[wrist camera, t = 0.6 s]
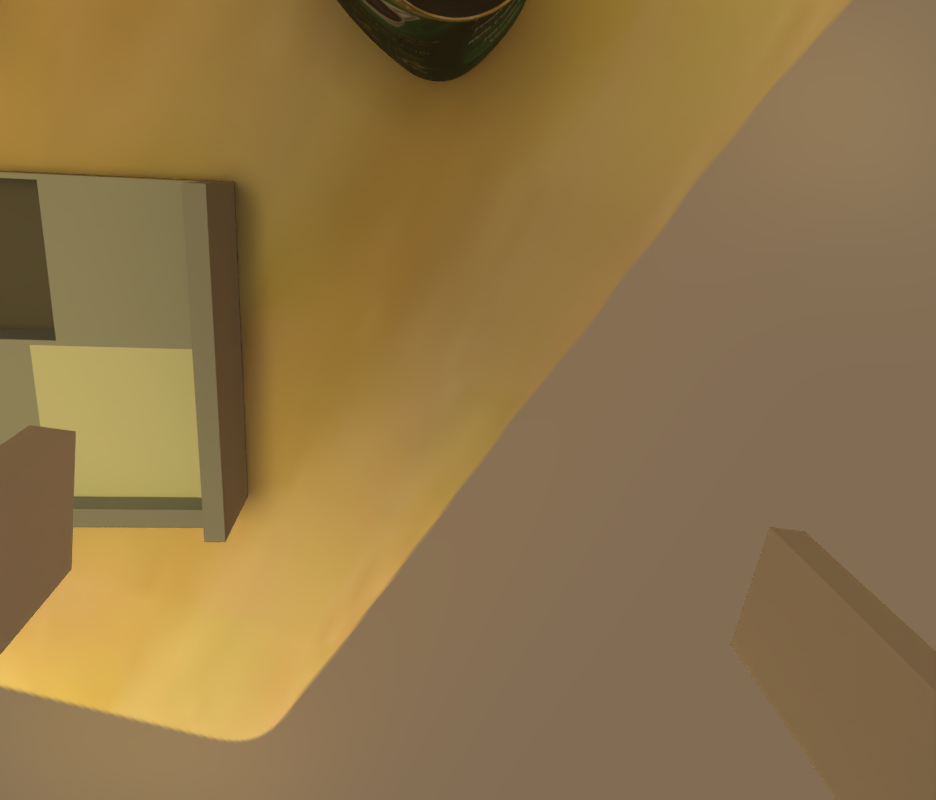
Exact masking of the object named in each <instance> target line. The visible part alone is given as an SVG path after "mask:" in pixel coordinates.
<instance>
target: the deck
mask: <svg viewBox="0 0 936 800" xmlns="http://www.w3.org/2000/svg"><path fill="white" fill-rule="evenodd" d="M29 425H33V426H40V427H48V428H55V429H62V430H70V431H76V445H75V475H74V506H73V527H129V528H204V542H226V540H227V538H228V536H229V533H230V531H231V529H232V527H233V525H234V523H235V521H236V519H237V517H238V515H239V513H240V511H241V509H242V507H243V505H244V503H245V501H246V498H247V496H248V483H247V461H246V438H245V416H244V393H243V371H242V348H241V326H240V303H239V280H238V258H237V235H236V213H235V190H234V182H229V181H208V180H186V179H165V178H144V177H122V176H101V175H80V174H58V173H37V172H16V171H0V445H1V444H3V443H4V442H6V441H7V440H9V439H10V438H12V437H13V436H15V435H16V434H17V433H19V432H20V431H22V430H23V429H25V428H26V427H28V426H29Z"/></svg>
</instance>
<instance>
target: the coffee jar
mask: <svg viewBox="0 0 936 800" xmlns="http://www.w3.org/2000/svg"><path fill="white" fill-rule="evenodd" d="M337 1H338V2H339V3H340V5H341V6H342V7H343V8H344V10H345V11H346V12H347V13H348V15H349V16H350V17H351V18H352V19H353V20H354V21H355V22H356V23H357V25H358V26H359V27H360V28H361V29H362V30H363V31H364V32H365V33H366V34H367V35H368V36H369V37H370V38H371V39H372V40H373V41H374V42H375V43H376V44H377V45H378V46H379V47H380V48H381V49H382V50H383V51H385V52H386V53H387V54H388V55H389V56H390V57H391V58H393V59H394V60H395V61H396V62H398V63H399V64H400V65H401V66H403V67H404V68H405V69H407V70H408V71H410V72H411V73H412V74H414V75H416V76H418V77H421V78H424V79H427V80H432V81H446V80H451V79H454V78H457V77H459V76H461V75H463V74H465V73H466V72H468V71H469V70H471V69H472V68H473V67H475V66H476V65H477V64H478V63H479V62H480V61H481V60H482V59H483V58H484V57H485V56H486V55H487V54H488V53H489V52H490V51H491V50H492V49H493V48H494V47H495V46H496V45H497V44H498V43H499V41H500V40H501V39H502V38H503V37H504V36H505V34H506V33H507V32H508V30H509V29H510V28H511V26H512V25H513V23H514V22H515V20H516V18H517V17H518V15H519V13H520V11H521V10H522V8H523V5H524V3H525V1H526V0H337Z"/></svg>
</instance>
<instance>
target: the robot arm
mask: <svg viewBox="0 0 936 800" xmlns="http://www.w3.org/2000/svg"><path fill="white" fill-rule="evenodd" d="M75 445H76V431H70V430H62V429H55V428H48V427H40V426H33V425H29V426H28V427H26V428H25V429H23V430H22V431H20V432H19V433H17V434H16V435H15V436H13V437H12V438H10V439H9V440H7V441H6V442H4V443H3V444H1V445H0V654H1V653H2V652H3V651H4V650H5V648H6V647H7V646H8V645H9V644H10V642H11V641H12V640H13V639H14V638H15V636H16V635H17V634H18V633H19V632H20V630H21V629H22V628H23V627H24V626H25V624H26V623H27V622H28V621H29V620H30V618H31V617H32V616H33V615H34V614H35V612H36V611H37V610H38V609H39V608H40V606H41V605H42V604H43V603H44V601H45V600H46V599H47V598H48V597H49V595H50V594H51V593H52V592H53V591H54V589H55V588H56V587H57V586H58V585H59V583H60V582H61V581H62V580H63V579H64V577H65V576H66V575H67V574H68V573H69V571H70V570H71V566H72V536H73V506H74V475H75ZM731 646H732V648H733V649H734V651H735V652H736V653H737V655H738V656H739V658H740V659H741V661H742V662H743V664H744V665H745V667H746V668H747V670H748V671H749V673H750V674H751V676H752V677H753V678H754V680H755V682H756V683H757V684H758V686H759V687H760V689H761V690H762V692H763V693H764V695H765V696H766V698H767V699H768V701H769V702H770V704H771V705H772V706H773V708H774V709H775V711H776V712H777V714H778V715H779V717H780V718H781V720H782V721H783V723H784V724H785V726H786V727H787V729H788V730H789V732H790V733H791V735H792V736H793V738H794V739H795V741H796V742H797V744H798V745H799V746H800V748H801V749H802V751H803V752H804V754H805V755H806V757H807V758H808V760H809V761H810V763H811V764H812V766H813V767H814V769H815V770H816V772H817V773H818V775H819V776H820V778H821V779H822V780H823V782H824V783H825V785H826V786H827V788H828V789H829V791H830V792H831V794H832V795H833V797H834V798H835V800H936V651H935V650H934V649H933V648H931V647H930V646H929V645H928V644H927V643H926V642H925V641H924V640H923V639H922V638H921V637H920V636H918V635H917V634H916V633H915V632H914V631H913V630H912V629H911V628H910V627H909V626H908V625H906V624H905V623H904V622H903V621H902V620H901V619H900V618H898V616H896V614H894V613H893V612H892V611H891V610H890V609H889V608H888V607H887V606H886V605H885V604H883V603H882V602H881V601H880V600H879V599H878V598H877V597H876V596H875V595H874V594H873V593H872V592H870V591H869V590H868V589H867V588H866V587H865V586H864V585H863V584H862V583H860V581H858V580H857V579H856V578H855V577H854V576H853V575H852V574H851V573H850V572H849V571H848V570H846V569H845V568H844V567H843V566H842V565H841V564H840V563H839V562H838V561H837V560H836V559H834V558H833V557H832V556H831V555H830V554H829V553H828V552H827V551H826V550H825V549H823V548H822V547H821V546H820V545H819V544H818V543H817V542H816V541H815V540H814V539H813V538H812V537H810V536H809V535H808V534H807V533H806V532H803V531H796V530H789V529H782V528H774V527H769V530H768V533H767V536H766V539H765V542H764V545H763V548H762V551H761V554H760V558H759V560H758V563H757V566H756V569H755V572H754V575H753V578H752V581H751V584H750V587H749V590H748V593H747V596H746V600H745V602H744V605H743V608H742V611H741V614H740V617H739V620H738V623H737V626H736V629H735V632H734V635H733V638H732V641H731Z"/></svg>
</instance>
